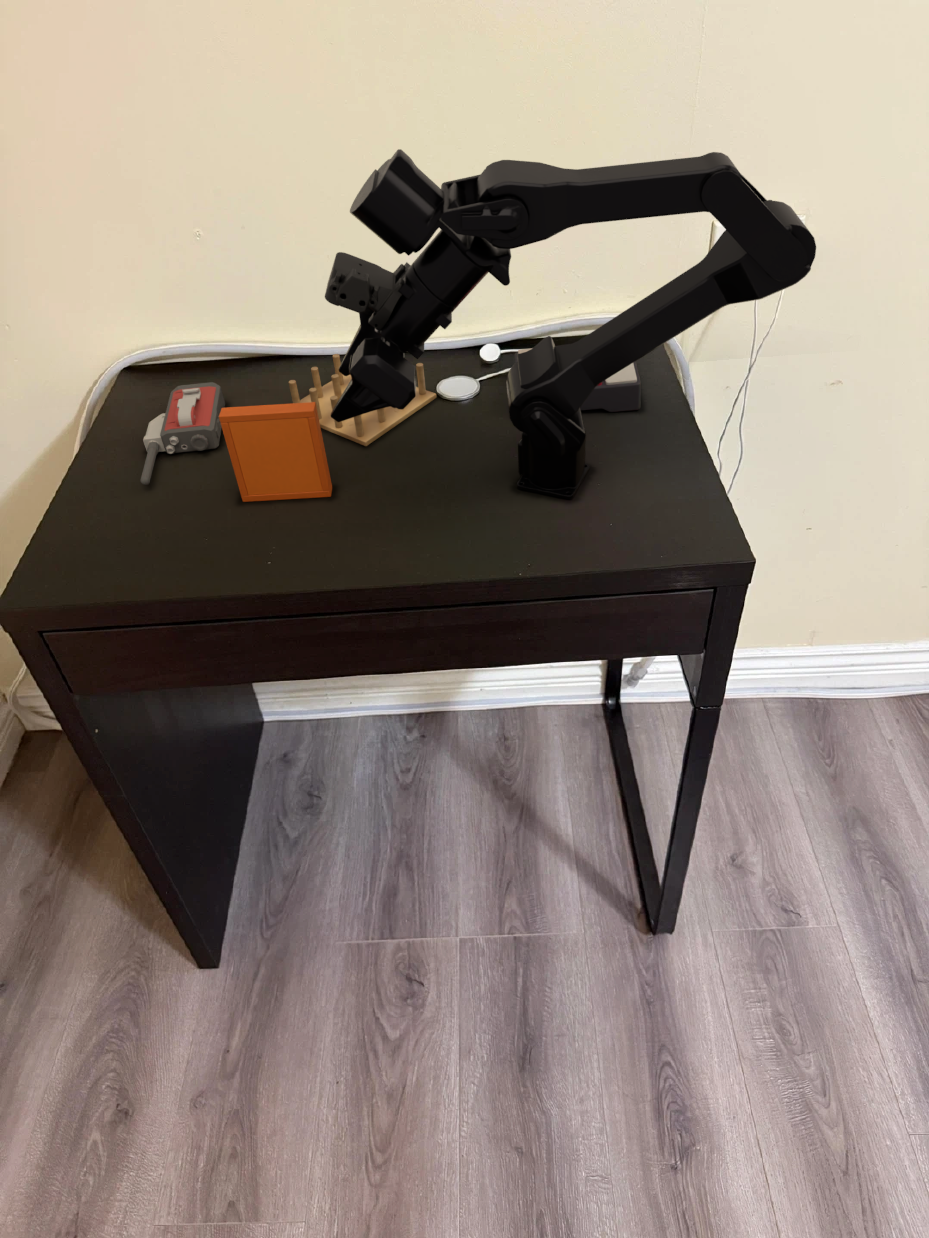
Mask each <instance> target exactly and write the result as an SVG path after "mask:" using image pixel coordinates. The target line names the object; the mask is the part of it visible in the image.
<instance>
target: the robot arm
mask: <svg viewBox="0 0 929 1238" xmlns="http://www.w3.org/2000/svg"><path fill="white" fill-rule="evenodd" d="M349 213H350V215H352V216H353V217H354V218H355V219H356V220H358V221H359V222H360V223H361V224H363V225H364V226H365V227H366V228H367V229H368V230H370V231H371V233H373V234H374V235H375V236H377V238H379V239H380V240H382V242H384V244H386V245H387V246H388V247H389V248H391V249H392V250H393V251H394V252H395V253H397V254H398V255H402V254H404V253H405V254H406V255H407V256H410V255H412V254H413V253H414V254H417V253H418V252H420V251H421V250H422V249H423V248H424V249H423V250H422V251H421V253H420V254H419V255H418V256H417V257H416V259H414V261H413V262H412V263H411V264H410V263H409V262H408V261H406V262H405V264H403V263H400V265H398V267H397V268H396V269H395V270H394V271H393V272H392V271H389V270H388V269H385V268H383V267H382V266H380V265H378V264H376V263H373V262H371V261H368V260H365V259H363V258H360V257H357V256H355V255H352V254H350V253H346V252H344V251H343V252H342V251H339V252H336V254H335V257H334V261H333V263H332V267H331V270H330V273H329V278H328V280H327V283H326V284H327V285H326V288H325V293H324V299H325V300H326V301H327V302H328V303H329V304H331V305H333V306H337V307H341V308H344V309H347V310H349V311H352V312H355V313H358V315H359V325H358V329H357V331H356V332H355V335H354V337H353V338H352V340H351V343H350V345H349V346H348V349H347V350H346V352H345V355H344V357H343V359H342V361H341V365H340V367H339V372H340V373H341V374H343V375H344V376H348V375H351V378H352V379H351V381H350V382H349V384H348V386H347V387H346V389H345V390H344V392H343V394H342V395H341V397H340V399H339V400H338V402H337V404H336V405H335V407H334V409H333V411H332V412H331V418H333V419H334V420H336V421H337V422H341V421H344V420H347V419H350V418H353V417H356V416H359V415H362V414H365V413H368V412H371V411H374V410H378V409H382V408H386V407H390V406H391V407H393V408H398V409H404V408H405V407H406V406H407V405H408V404H409V403H410V402H411V401H412V400H413V399H414V398H415V397H416V387H417V370H416V365H414V364H413V363H411V362H410V361H409V360H408V359H407V358H405V355H406V353H409V354H410V355H411V356H413V357H414V358H415V359H416V360H418V359H419V358H420V357H422V356H423V354H424V353H425V343H426V342H427V341H428V340H429V339H430V337H431V336H433V334H434V333H435V332H436V331H437V330H438V328H439V327H441V328H442V329H444V330H446V329H447V328H448V327H449V326H450V325H451V324H452V323H453V312H454V311H455V310H456V309H457V308H458V307H459V306H460V304H461V303H462V302H463V301H464V300H465V299H466V298H467V296H469V295H470V293H471V292H472V291H473V290H474V289H475V288H476V287H477V285H479V284H480V282H481V281H482V280H483V279H484V278H485V277H486V276H487V275H488V273H489V274H490V275H491V276H492V277H493V278H494V279H496V281H498V282H499V283H500V284H501V285H502V286H505V287H506V286H509V285H510V283H511V277H510V264H511V259H512V251H511V250H512V249H517V248H520V247H525V246H528V245H531V244H535V243H538V242H542V241H546V240H548V239H550V238H552V237H554V236H556V235H558V234H560V233H561V232H563V231H565V230H566V229H570V228H574V227H577V226H581V225H589V224H597V223H607V222H617V221H626V220H637V219H646V218H657V217H666V216H675V215H683V214H684V215H686V214H695V213H709V214H711V216H713V217H714V218H715V220H717V222H718V223H719V224H720V225H721V226H722V227H723V228H724V229H725V230H724V231H723V232H722V233H721V235H720V236H719V238H718V239H717V240H716V241H715V243H714V244H713V246H712V247H711V248H710V250H709V251H708V253H707V254H706V255H705V256H704V258H703V259H701V261H699V262H697V263H696V264H694V265H693V266H692V267H690V268H688V269H687V270H685V271H683V272H682V273H681V274H680V275H678V276H676V277H674V278H673V279H672V280H670V281H669V282H667V283H666V284H664V285H662V286H661V287H659V288H658V289H656V290H655V291H653V292H652V293H650V294H649V295H646V297H644V298H643V299H641V300H638V302H637V303H635V304H633V305H632V306H630V307H629V308H627V309H626V310H624V311H622V312H621V313H619V314H618V315H616V316H615V317H613V318H611V319H610V320H609V321H608V320H607V322H606V323H604V324H602V325H601V326H599V327H598V328H596V329H595V330H593V331H592V332H590V333H588V334H587V335H585V336H583V337H582V338H581V339H579V340H577V341H575V342H573V343H572V342H571V343H567V344H562V345H560V344H559V345H555V342H554V340H553V338H552V336H551V335H547V336H546V337H544V338H542V339H541V340H540V341H539V342H538V343H537V344H536V345H534V346H533V347H532V349H531V350H529V351H527V352H524V353H519V354H517V360H518V361H517V362H516V363H515V362H514V364H512V366H511V367H510V368H509V369H508V374H507V377H506V382H505V383H506V384H505V385H506V393H507V394H506V395H507V405H508V414H509V419H510V421H511V423H512V425H513V426H514V427H515V428H516V429H517V430H518V431H519V432H521V438H520V440H519V441H518V443H517V464H518V465H517V466H518V467H517V468H518V469H517V470H518V471H517V472H518V474H519V476H521V477H520V478H519V479H518V481H517V482H516V488H517V489H519V490H523V491H528V492H532V493H536V494H541V495H546V496H551V497H556V498H561V499H566V500H571V499H573V498H574V497H575V495H576V493H577V491H578V490H579V488H580V486H581V485H582V483H583V482H584V479H585V478H586V476H587V474H588V473H589V471H590V464H589V463H586V445H587V444H586V443H587V441H586V439H587V427H585V424H584V419H583V415H582V410H581V409H580V407H581V406H582V404H583V403H584V402H585V400H586V399H587V398H588V396H589V395H590V393H591V392H592V391H593V389H594V388H595V387H596V386H597V385H598V384H600V383H601V382H603V381H604V380H606V379H608V378H609V377H611V376H612V375H614V374H616V373H617V372H619V371H620V370H622V369H624V368H625V367H627V366H629V365H630V364H632V363H633V362H635V361H636V362H637V361H638V360H640V359H641V358H643V357H645V356H646V355H648V354H649V353H651V352H653V351H654V350H656V349H657V348H659V347H661V346H662V345H665V344H666V343H667V342H669V341H671V340H672V339H674V338H675V337H677V336H678V335H681V334H682V333H684V332H685V331H687V330H688V329H690V328H692V327H694V326H695V325H696V324H698V323H700V322H701V321H703V320H704V319H706V318H708V317H709V316H711V315H713V314H714V313H716V312H717V311H719V310H721V309H722V308H724V307H727V306H729V305H735V304H740V303H746V302H752V301H754V302H755V301H759V300H762V299H765V298H768V297H770V296H772V295H774V294H776V293H779V292H781V291H783V290H785V289H788V288H790V287H792V286H794V285H797V284H798V283H799V282H800V281H802V280H803V279H804V278H805V277H806V276H807V275H808V274H809V273H810V271H811V270H812V266H813V263H814V261H815V259H816V254H817V253H816V252H817V243H816V239H815V237H814V236H813V234H812V233H811V231H810V230H809V228H807V226H806V224H804V222H803V221H802V220H801V218H800V216H798V215H797V213H796V211H795V210H794V209H793V208H792V207H791V205H788V204H787V203H785V202H783V201H779V200H772V199H766V197H765V196H763V194H762V193H761V192H760V191H759V190H758V189H757V188H756V187H755V186H754V185H753V184H752V183H751V182H750V181H749V180H748V179H747V178H746V177H745V176H744V175H743V174H742V173H741V172H740V170H739V169H738V168H737V166H736V165H735V164H734V162H733V161H732V160H731V158H730V157H729V155H726V154H725V153H723V152H718V151H712V152H708V153H706V154H703V155H700V156H692V157H682V158H681V157H680V158H673V159H672V158H671V159H665V160H655V161H653V160H652V161H646V162H645V161H644V162H635V163H625V164H616V165H615V164H614V165H606V166H605V165H604V166H598V167H597V166H595V167H587V168H579V169H577V168H575V169H574V168H563V167H559V166H555V165H551V164H547V163H544V162H539V161H526V160H515V159H501V160H498V161H494V162H491V163H490V164H488V165H487V166H486V167H485V168H484V169H483V170H482V172H481V173H480V174H476V175H471V176H467V177H462V178H457V179H453V180H449V181H444V182H442V183H441V185H440V186H438V185H437V184H436V183H435V182H434V181H433V180H432V179H430V177H428V176H427V175H426V173H424V172H423V171H422V170H421V169H420V168H419V167H418V166H417V165H416V163H415V162H414V160H412V158H411V157H410V156H409V155H408V154H407V153H406V152H405V151H404V150H402V149H397V150H396V151H395V152H394V153H393V155H392V157H391V158H389V159H387V160H386V161H384V163H382V164H381V165H380V167H379V168H378V169H374V170H373V171H372V172H371V174H370V175H369V177H368V178H367V179H366V181H365V182H364V183H363V185H362V187H361V188H360V190H359V191H358V192H357V194H356V196H355V198H354V199H353V202H352V204H351V206H350V208H349ZM438 230H439V231H438ZM436 231H438V233H437V234H436V235H435V236H434V234H435V233H436ZM433 236H434V237H433ZM432 237H433V238H432ZM430 240H431V241H430ZM429 241H430V242H429ZM428 242H429V243H428ZM425 246H426V247H425Z"/></svg>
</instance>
